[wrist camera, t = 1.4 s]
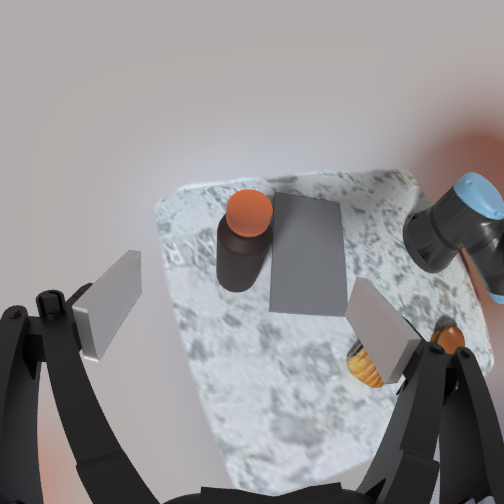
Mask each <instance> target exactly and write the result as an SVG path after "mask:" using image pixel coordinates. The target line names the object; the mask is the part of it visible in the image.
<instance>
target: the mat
mask: <svg viewBox="0 0 504 504" xmlns="http://www.w3.org/2000/svg"><path fill="white" fill-rule="evenodd" d="M347 306H348V303H347V282H346V266H345V253H344V242H343V232H342V223H341V214H340V206H339V203H336V202H330V201H325V200H319V199H313V198H308V197H302V196H296V195H289V194H283V193H276V192H275V194H274V219H273V245H272V267H271V288H270V307H269V312H278V313H291V314H305V315H321V316H340V317H345V312H346V309H347Z"/></svg>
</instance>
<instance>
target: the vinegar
mask: <svg viewBox="0 0 504 504" xmlns="http://www.w3.org/2000/svg"><path fill="white" fill-rule="evenodd" d="M272 214H273V207H272V204H271V202H270V200H269V199H268V198H267V196H266V195H264V194H263V193H261V192H259V191H256V190H242V191H241V190H240V191H238V192H237V193H235V194H234V195H233V196H231V197H230V198H229V201H228V203H227V212H226V214H225V215H224V216H223V218H222V219H221V220H220V222H219V225H218V229H217V269H216V272H217V279H218V281H219V283H220V284H221V285H222V286H223V288H225V289H227V290H228V291H232V292H243V291H245V290H247V289H249V288H250V287H251V286H252V285H253V283H254V282H255V280H256V278H257V275H258V273H259V270H260V268H261V265H262V263H263V261H264V258H265V256H266V253H267V251H268V248H269V246H270V243H271V240H272V234H273V232H272V227H271V224H270V220H271V217H272Z"/></svg>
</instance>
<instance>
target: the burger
mask: <svg viewBox="0 0 504 504" xmlns="http://www.w3.org/2000/svg"><path fill="white" fill-rule="evenodd" d="M430 342H435V343H437V344H439V345H441V346H442V347H443V348H444V349H445V351H446V353H448V354H454V352H455V350H456V348H457V347H459V346H461V347H465V340H464V336H463V333H462V332H461V330H460V329H459V328H456V327H455V326H445V327H442V329H439V330H437V331H435V333H434V334H433V336H432V338H431V341H430Z"/></svg>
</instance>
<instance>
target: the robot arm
mask: <svg viewBox="0 0 504 504" xmlns="http://www.w3.org/2000/svg"><path fill="white" fill-rule="evenodd" d="M403 239H404V243H405V246H406V249H407V251H408V253H409V255H410V256H411V258H412V259H413V261H414V262H415V263H416V264H417V265H418V266H419V267H420V268H421V269H423V270H424V271H426V272H429V273H439V272H440V271H442V270H444V269H445V268H446V267H447V266H448V265H449V264H450V262H451V261H452V260H453V258H454V257H455V255H456V254H457V252H458V251H459V250H460V249H462V248H463V247H464V248H465V249H466V251H467V252H468V254H469V256H470V258H471V260H472V261H473V263H474V265H475V267H476V269H477V271H478V273H479V275H480V277H481V279H482V281H483V283H484V285H485V287H486V290H487V291H488V292H489V294H490V295H491V297H492V299H493V300H494V301H495V302H497V303H499V304H504V202H503V200H502V197H501V196H500V194H499V192H498V191H497V190H496V188H495V187H494V186H493V185H492V184H491V183H490V182H489V181H488V180H487V179H485V178H484V177H483V176H481V175H479V174H477V173H474V172H469V173H466V174H465V175H463V176H462V177H461V178H460V179H459V180H458V181H456V182H455V183H454V185H453V186H452V188H451V189H450V190H449V191H448V192H447V193H446V194H445V195H444V196H443V197H442V198H441V199H440V200H438V201H437V202H436V203H435V204H434V205H433V206H432V207H431V208H429V209H426V210H424V211H421V212H418V213H416V214H414V215H412V216H411V217H410V218H409V219H408V220H407V221H406V223H405V224H404V228H403ZM141 292H142V289H141V252H140V251H133V250H129V251H128V252H127V253H125V255H123V256H122V257H121V258H120V259H119V260H118V261H117V262H116V263H115V264H114V265H113V266H111V268H109V269H108V270H107V271H106V272H105V273H104V274H103V275H102V276H101V277H100V278H99V279H98V280H97V281H96V282H95V283H94V284H93V283H88V284H86V285H84V286H82V287H81V288H80V289H78V290H77V292H76V293H74V294H73V295H72V297H70V298H69V299H68V300H67V301H66V302H65V299H64V295H63V293H62V292H60V291H58V290H48V291H44V292H42V293H40V294H39V295H38V296H37V297H36V303H37V307H38V312H39V316H40V317H34V316H28V313H27V309H26V308H25V307H23V306H19V305H17V306H12V307H9V308H8V309H6V310H5V312H4V313H3V315H2V318H1V320H0V504H44V503H43V494H42V488H41V481H40V472H39V463H38V446H37V409H38V408H37V407H38V392H39V380H40V372H41V364H42V362H46V363H47V368H48V373H49V378H50V382H51V387H52V390H53V395H54V398H55V402H56V405H57V409H58V412H59V416H60V419H61V422H62V425H63V428H64V431H65V434H66V436H67V439H68V442H69V445H70V447H71V449H72V452H73V455H74V457H75V459H76V462H77V465H76V469H77V472H78V475H79V477H80V479H81V481H82V483H83V485H84V487H85V489H86V491H87V493H88V495H89V497H90V499H91V501H92V502H93V504H160V503H159V502H158V500H157V499H156V498H155V497H154V495H153V494H152V493H151V491H150V490H149V488H148V487H147V486H146V484H145V483H144V481H143V480H142V479H141V477H140V475H139V474H138V472H137V471H136V469H135V468H134V466H133V465H132V463H131V462H130V460H129V458H128V457H127V455H126V454H125V452H124V451H123V450H122V448H121V446H120V444H119V443H118V441H117V439H116V437H115V436H114V433H113V431H112V430H111V428H110V426H109V424H108V422H107V420H106V418H105V416H104V413H103V412H102V409H101V407H100V405H99V403H98V400H97V399H96V396H95V394H94V391H93V389H92V386H91V384H90V381H89V379H88V376H87V374H86V371H85V368H84V366H83V363H82V360H81V357H80V354H79V351H80V350H81V349H82V351H83V355H84V358H85V359H88V360H92V361H95V362H99V361H100V360H101V358H102V356H103V354H104V353H105V351H106V349H107V348H108V346H109V344H110V343H111V341H112V339H113V337H114V336H115V334H116V333H117V331H118V329H119V328H120V326H121V325H122V323H123V321H124V320H125V318H126V317H127V315H128V313H129V312H130V310H131V309H132V307H133V306H134V304H135V302H136V301H137V299H138V298H139V296H140V295H141ZM345 317H346V318H347V320H348V321H349V323H350V325H351V326H352V328H353V330H354V331H355V333H356V335H357V336H358V338H359V340H360V341H361V343H362V345H363V346H364V348H365V350H366V352H367V353H368V355H369V357H370V358H371V360H372V362H373V364H374V365H375V367H376V369H377V371H378V372H379V374H380V376H381V378H382V379H383V381H384V383H385V384H392V383H397V382H398V381H399V379H400V377H401V375H402V374H403V375H404V376H405V378H406V379H405V381H404V382H403V384H402V386H401V387H400V389H399V390H398V392H397V393H396V395H398V394H399V396H398V399H397V402H396V405H395V408H394V411H393V414H392V416H391V419H390V422H389V424H388V427H387V429H386V432H385V434H384V437H383V439H382V441H381V444H380V446H379V448H378V451H377V453H376V455H375V457H374V459H373V461H372V463H371V465H370V467H369V469H368V471H367V474H366V475H365V477H364V479H363V481H362V483H361V484H360V486H359V487H358V488H357V490H356V491H352V490H346V489H342V487H341V483H340V482H338V483H331V484H325V485H318V486H310V487H307V488H304V489H300V490H297V491H294V492H291V493H287V494H284V495H280V496H267V495H261V494H256V493H251V492H247V491H242V490H238V489H221V488H210V487H201V493H198V494H189V495H184V496H181V497H177V498H174V499H172V500H169V501H167V502H165V503H163V504H430V501H431V498H432V495H433V491H434V488H435V484H436V480H437V477H438V473H439V469H440V497H439V504H504V442H503V438H502V434H501V430H500V426H499V423H498V419H497V415H496V412H495V409H494V406H493V402H492V399H491V396H490V393H489V390H488V388H487V385H486V382H485V380H484V377H483V374H482V372H481V369H480V367H479V365H478V362H477V360H476V357H475V355H474V354H473V352H472V351H471V350H470V349H468V348H467V347H461V346H459V347H457V348H456V350H455V352H454V354H448V353H446V351H445V349H444V348H443V347H442V346H441V345H439V344H437V343H435V342H426V340H425V339H424V338H423V337H422V336H421V335H420V333H419V332H418V331H416V329H415V328H414V327H413V326H412V324H411V323H410V322H409V321H408V320H407V319H405V318H404V317H402V316H401V315H400V314H399V313H398V311H397V310H396V309H395V308H394V307H393V306H392V305H391V304H390V303H389V302H388V301H387V299H386V298H385V297H384V296H383V295H382V294H381V293H380V292H379V291H378V290H377V289H376V288H375V287H374V286H373V284H372V283H371V282H370V281H369V280H368V279H367V278H359V277H356V280H355V284H354V287H353V290H352V293H351V297H350V300H349V303H348V306H347V309H346V312H345ZM457 386H458V388H457ZM456 388H457V390H456ZM438 434H439V448H440V464H439V462H438V461H435V460H433V457H434V453H435V448H436V443H437V439H438Z"/></svg>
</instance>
